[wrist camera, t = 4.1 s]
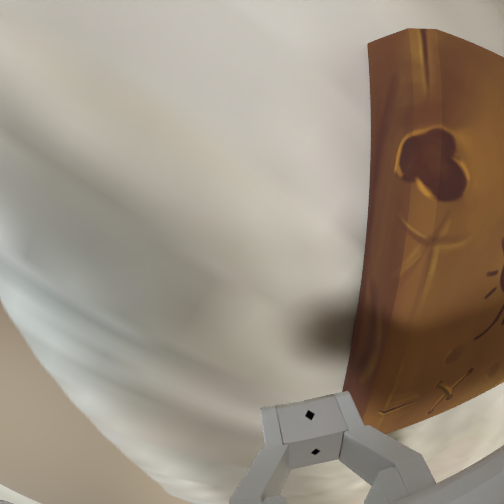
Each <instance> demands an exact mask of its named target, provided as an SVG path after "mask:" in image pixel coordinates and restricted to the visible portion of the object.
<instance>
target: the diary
mask: <svg viewBox="0 0 504 504" xmlns="http://www.w3.org/2000/svg"><path fill="white" fill-rule="evenodd" d="M368 58H369V74H370V99H371V163H370V189H369V206H368V221H367V233H366V244H365V254H364V263H363V272H362V280H361V288H360V296H359V303H358V309H357V316H356V322H355V329H354V335H353V340H352V346H351V351H350V357H349V362H348V367H347V372H346V377H345V382H344V386H343V391H342V392H344V391H348V392H350V394H351V396H352V399H353V401H354V403H355V405H356V407H357V410H358V412H359V414H360V416H361V419H362V421H363V423H364V425H365V426H366V425H370V426H372V427H373V428H375V429H377V430H379V431H380V432H382V433H384V434H387V433H390V432H393V431H396V430H399V429H401V428H404V427H407V426H410V425H412V424H415V423H418V422H420V421H423V420H425V419H428V418H430V417H433V416H435V415H438V414H440V413H442V412H445V411H447V410H449V409H451V408H454V407H456V406H458V405H460V404H462V403H464V402H466V401H468V400H470V399H473V398H475V397H477V396H478V395H480V394H482V393H484V392H486V391H488V390H490V389H492V388H494V387H495V386H497V385H499V384H501V383H503V382H504V57H502V56H500V55H498V54H496V53H494V52H491V51H489V50H487V49H485V48H483V47H480V46H478V45H476V44H473V43H471V42H469V41H466V40H464V39H461V38H459V37H456V36H453V35H451V34H448V33H445V32H443V31H440V30H437V29H412V28H408V29H405V30H402V31H399V32H397V33H394V34H391V35H388V36H386V37H383V38H380V39H378V40H375V41H373V42H370V43H368Z"/></svg>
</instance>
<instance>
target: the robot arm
mask: <svg viewBox="0 0 504 504" xmlns="http://www.w3.org/2000/svg"><path fill="white" fill-rule="evenodd" d="M260 414H261V421H262V427H263V433H264V440H265V446H266V447H265V448H261V449H260V451H259V453H258V455H257V456H256V458H255V460H254V461H253V463H252V465H251V466H250V468H249V470H248V471H247V473H246V475H245V476H244V478H243V479H242V481H241V483H240V484H239V486H238V487H237V489H236V491H235V492H234V494H233V495H232V497H231V498H230V500H229V504H287V501H286V498H285V497H283V496H281V495H280V493H281V491H282V488H283V486H284V484H285V482H286V480H287V478H288V475H289V473H290V470H291V469H295V468H300V467H305V466H309V465H313V464H318V463H323V462H328V461H332V460H337V459H339V460H340V461H341V462H342V463H343V464H345V465H346V466H347V467H348V468H350V469H351V470H352V471H353V472H355V473H356V474H357V475H358V476H360V477H361V478H362V479H364V480H365V481H366V482H367V483H369V484H370V485H371V486H372V487H371V489H370V491H369V493H368V495H367V497H366V499H365V501H364V504H504V445H503V446H502V447H500V448H499V449H497V450H496V451H494V452H492V453H491V454H489V455H488V456H486V457H484V458H483V459H481V460H479V461H478V462H476V463H474V464H473V465H471V466H469V467H467V468H466V469H464V470H462V471H460V472H458V473H456V474H454V475H453V476H451V477H449V478H447V479H445V480H443V481H441V482H439V483H436V482H435V480H434V478H433V476H432V474H431V472H430V470H429V468H428V466H427V464H426V462H425V460H424V458H423V456H422V455H421V454H420V453H418V452H416V451H414V450H412V449H410V448H409V447H407V446H405V445H403V444H401V443H400V442H398V441H396V440H394V439H392V438H391V437H389V436H387V435H385V434H384V433H382V432H380V431H379V430H377V429H375V428H373V427H372V426H370V425H366V426H365V425H364V423H363V421H362V419H361V416H360V414H359V412H358V410H357V407H356V405H355V403H354V401H353V399H352V396H351V394H350V392H348V391H344V392H340V393H336V394H331V395H326V396H322V397H318V398H313V399H309V400H304V401H301V402H295V403H289V404H282V405H276V406H269V407H262V408H260ZM0 504H13V503H10V502H7V501H4V500H0Z"/></svg>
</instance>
